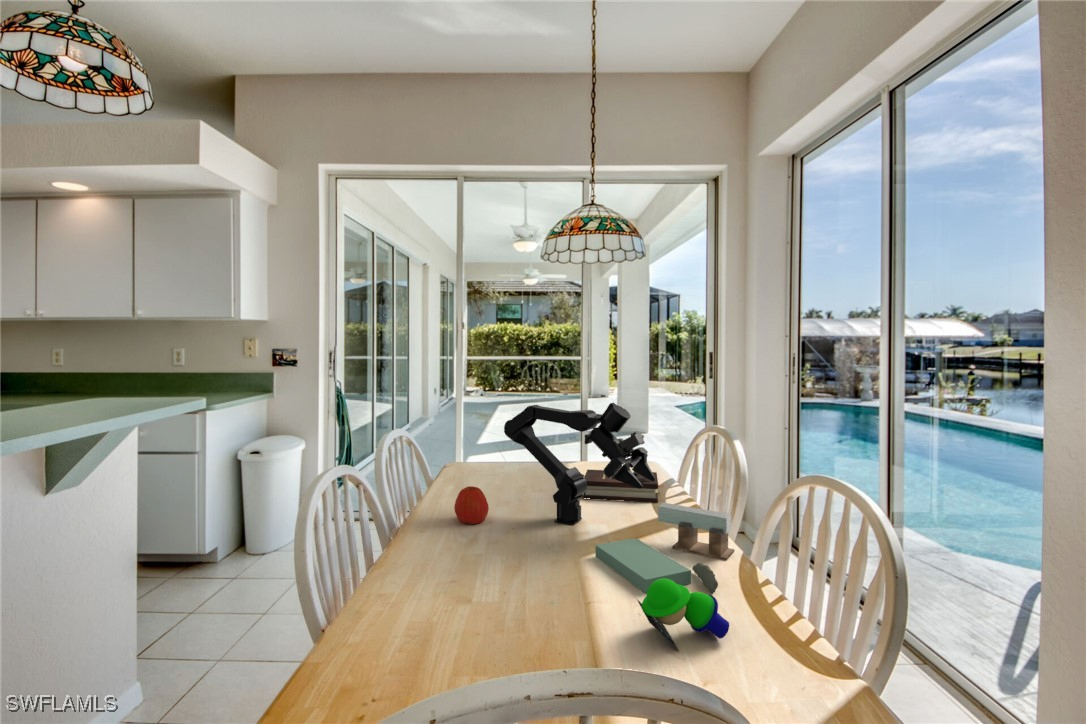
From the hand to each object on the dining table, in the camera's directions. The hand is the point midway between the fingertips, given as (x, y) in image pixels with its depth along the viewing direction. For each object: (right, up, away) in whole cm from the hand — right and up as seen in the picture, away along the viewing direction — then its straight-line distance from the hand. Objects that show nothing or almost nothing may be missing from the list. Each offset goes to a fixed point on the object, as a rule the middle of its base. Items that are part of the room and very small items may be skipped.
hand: (648, 484), depth 151 cm
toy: (-3, -17, -50) cm, 53 cm away
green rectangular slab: (-6, -16, -21) cm, 27 cm away
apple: (-50, -15, +14) cm, 54 cm away
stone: (+7, -16, -28) cm, 34 cm away
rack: (+13, -15, -9) cm, 21 cm away
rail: (+11, -9, -7) cm, 16 cm away
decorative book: (-1, -14, +44) cm, 46 cm away
